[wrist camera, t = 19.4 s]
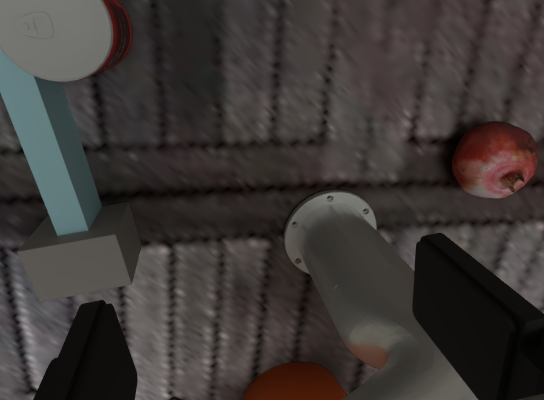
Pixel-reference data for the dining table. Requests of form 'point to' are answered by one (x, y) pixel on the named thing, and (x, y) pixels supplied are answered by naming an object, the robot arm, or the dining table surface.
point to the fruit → (494, 159)
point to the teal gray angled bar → (65, 197)
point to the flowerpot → (295, 384)
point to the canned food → (64, 36)
